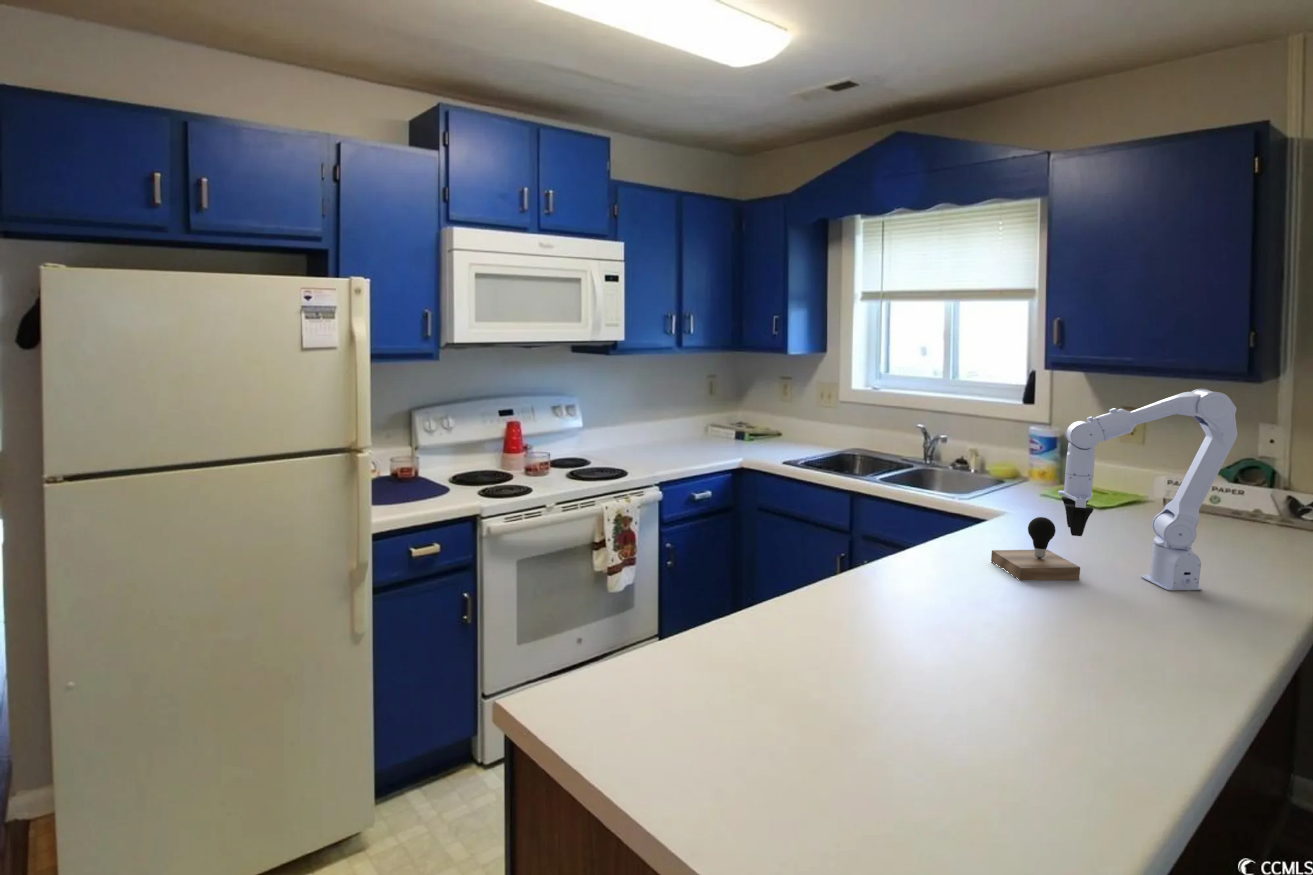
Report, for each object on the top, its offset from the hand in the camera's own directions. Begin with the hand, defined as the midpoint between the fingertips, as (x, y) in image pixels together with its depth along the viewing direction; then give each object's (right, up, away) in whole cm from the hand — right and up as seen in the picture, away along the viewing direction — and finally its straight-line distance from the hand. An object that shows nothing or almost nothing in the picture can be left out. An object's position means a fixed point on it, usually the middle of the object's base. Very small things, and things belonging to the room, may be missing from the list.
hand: (1074, 531), depth 184 cm
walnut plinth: (-7, -10, +4) cm, 13 cm away
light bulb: (-6, -7, +4) cm, 10 cm away
